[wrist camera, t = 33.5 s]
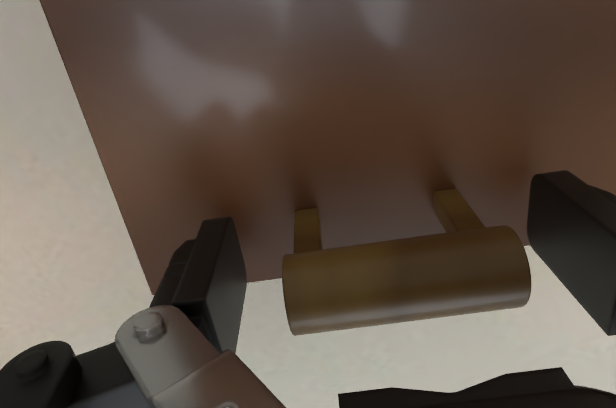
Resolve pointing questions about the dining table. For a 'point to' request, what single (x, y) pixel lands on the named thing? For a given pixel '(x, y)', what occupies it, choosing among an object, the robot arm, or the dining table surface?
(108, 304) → the dining table surface
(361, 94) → the lid
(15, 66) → the dining table surface
